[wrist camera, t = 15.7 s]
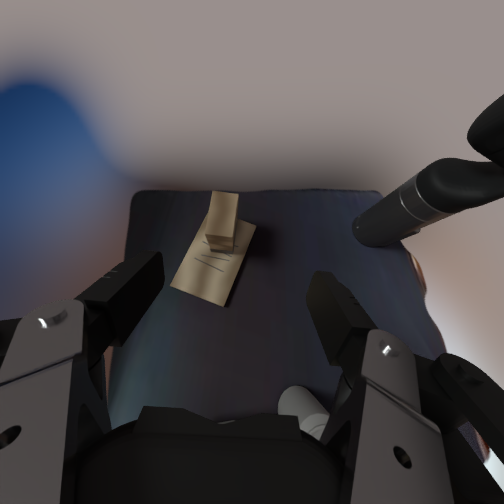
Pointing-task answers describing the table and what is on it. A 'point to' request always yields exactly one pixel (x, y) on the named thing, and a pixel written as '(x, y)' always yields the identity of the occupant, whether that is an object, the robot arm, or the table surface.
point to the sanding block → (222, 222)
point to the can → (304, 410)
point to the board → (212, 265)
